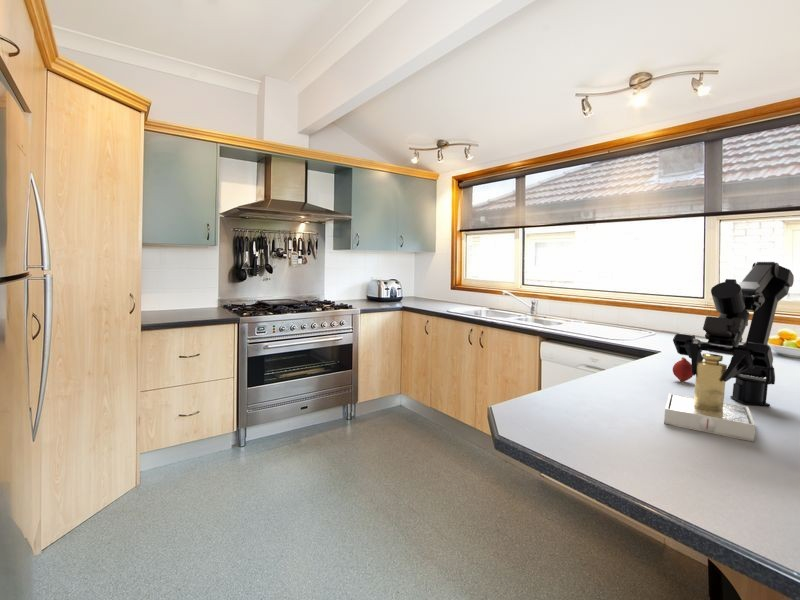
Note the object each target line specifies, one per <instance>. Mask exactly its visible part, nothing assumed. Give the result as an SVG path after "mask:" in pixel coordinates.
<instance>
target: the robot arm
mask: <svg viewBox="0 0 800 600" xmlns="http://www.w3.org/2000/svg"><path fill="white" fill-rule="evenodd" d="M794 280H795V279H794V274H793V272H792V271H791V269H789V268H788V267H787V268H786V267H784V266H781V265H779V263H778V262H775V261H757V262H753V264H752V266H751V269H750V270H749V272H748V273H747V274H746V275H745V276H744V278H743V279H742V280H741V281H740V282H737V279H733V278H731V279H730V278H726V279H724V282H723V281H722V282H720V283H717V284H715V285H714V286H713V287H711V288H710V289H711V290H710V294H711V296H712V300H713V303H714V308H715V310H716V312H718V313H719V315H718V316H706V317H705V318H704V319H705V320H704V323H703V327H702V331H705V335H704V337H705V340H707V341H703V340H702V341H701V340H700V339H699V338H697V337H696V336H695V335H694V334H687V333H681V332H680V333H676V334H675V335H674V337H673V338H672V342H673V344H674V347H675V349H676V352H677V354H678V355H681V356H687V357H688V358H690V359H691V364H692V375H693V376H692V377H696V370H697V362H698V361H704V359H702V355H703V354H702V352H703V351H706V352H709V353H711V354H717V355H726V356H730V357H731V356H732V357H731V358H730V362H729V364H728V365H727V370H726V372H725V374H724V377H723V381H724V382H725V383H726V382H728V381H729V380H731V379H735V382H734V383H733V387H732V395H730V396H729V397H730V398H731V399H732V400H735V401H737V402H738V403H741V404H743V405H751V406H762V407H763V406H766V407H770V406H771V404H770V403H769V402H767V395H768V386H770V385H775V384H776V374H775V373H776V372H775V368H774V366H773V363H774V356H773V350H772V348H771V346H770V345H769V344H768V342H769V339H770V335H771V331H772V328H773V323H774V319H775V315H776V311H777V307H778V303H779V301H781V300H782V299H784V297H786V296H787V295H788V294H789V290H790V288H792V287H793V285H794ZM749 311H750V312H753V314H752V318H751V321H750V324H749V320H750V317H751V314H750V312H749ZM748 325H749V328H748V334H747V337H746V340H745V342H744V343H743V344H740V343H742V342H743V335H744V332H745V329H746V328H747V327H748Z"/></svg>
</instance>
